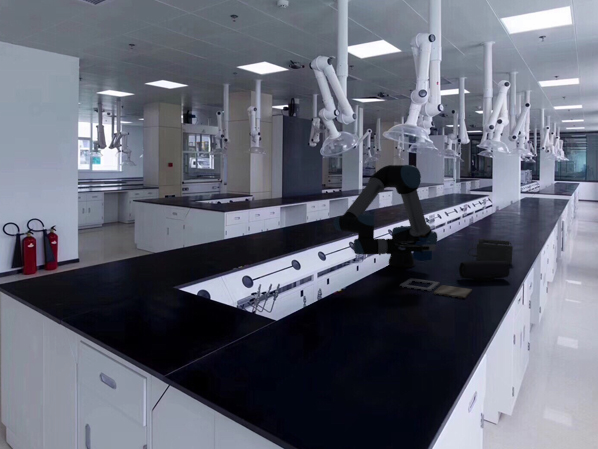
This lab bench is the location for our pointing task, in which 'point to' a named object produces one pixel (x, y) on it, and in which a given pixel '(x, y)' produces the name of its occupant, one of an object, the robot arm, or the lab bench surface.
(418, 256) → the perfume bottle
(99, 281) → the lab bench surface
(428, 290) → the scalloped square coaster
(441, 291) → the beige square cloth
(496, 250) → the geiger counter
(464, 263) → the bluetooth speaker
